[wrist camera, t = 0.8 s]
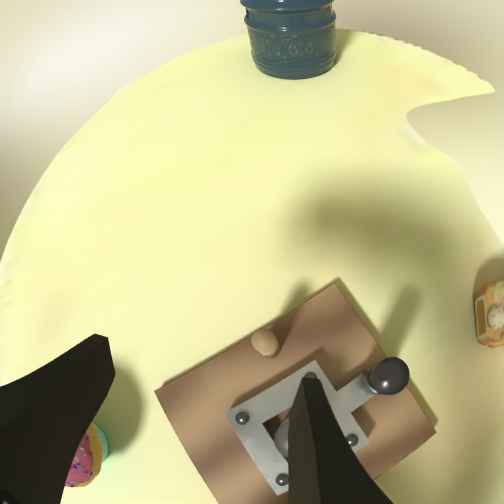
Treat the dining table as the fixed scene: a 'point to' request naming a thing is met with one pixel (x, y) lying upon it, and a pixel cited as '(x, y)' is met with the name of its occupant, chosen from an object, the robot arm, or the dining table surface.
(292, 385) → the flange
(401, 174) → the dining table surface
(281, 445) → the post
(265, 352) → the dowel
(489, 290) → the topped waffle
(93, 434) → the cupcake
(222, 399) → the board
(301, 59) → the canister
